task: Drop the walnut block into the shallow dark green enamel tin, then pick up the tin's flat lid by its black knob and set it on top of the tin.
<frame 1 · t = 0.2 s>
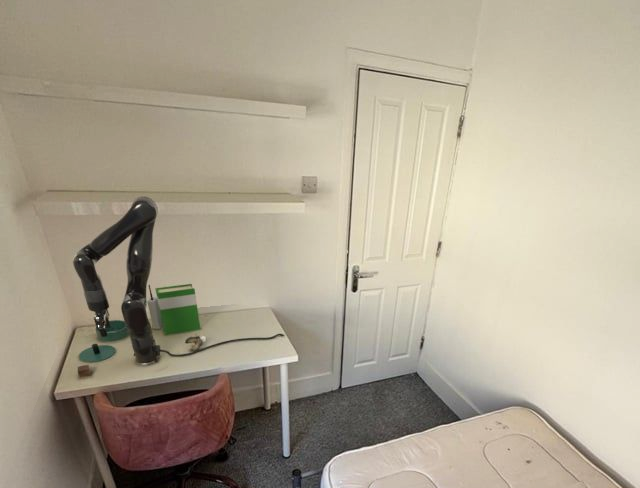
hand: (106, 331, 172), 17 cm above the table, tool pointing down, fingers open, 8 cm apart
eagle figurine: (196, 347, 199), on the table
block: (85, 375, 171), on the table
hardback book: (182, 329, 213), on the table
lid: (97, 354, 185), point 1 cm above the table
vintage mobile phone: (158, 327, 213), on the table
tin: (114, 335, 202), on the table
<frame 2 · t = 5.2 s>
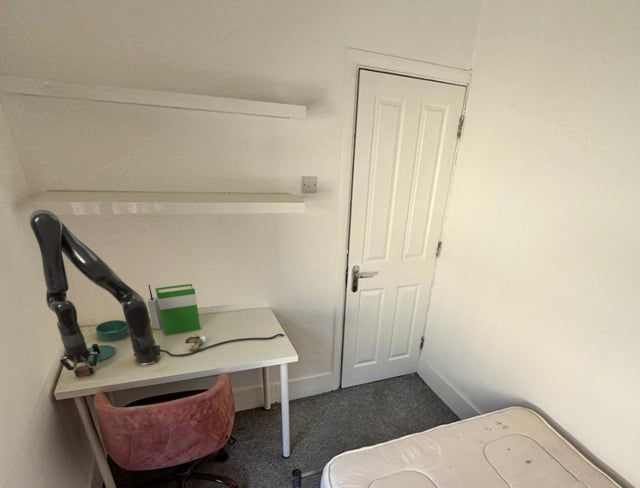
hand: (85, 374, 171), 0 cm above the table, tool pointing down, fingers closed on block, 4 cm apart
block: (85, 375, 171), on the table, touching gripper
everything else where it was.
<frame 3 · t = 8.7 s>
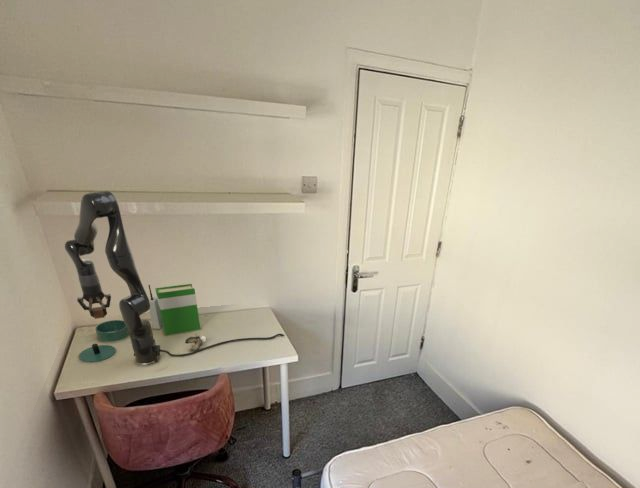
hand: (99, 315, 187), 16 cm above the table, tool pointing down, fingers closed on block, 4 cm apart
block: (99, 316, 187), point 15 cm above the table, touching gripper
everything else where it was.
when the fingers open (1 cm above the table, at t = 13.1 s): block stays where it is, resting on tin.
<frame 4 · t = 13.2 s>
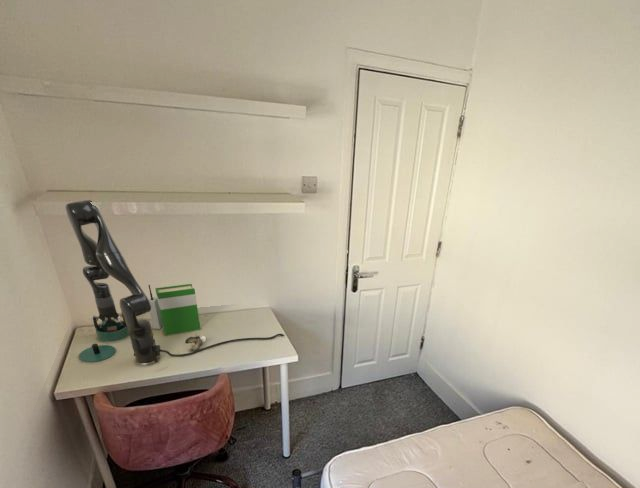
hand: (113, 332, 201), 2 cm above the table, tool pointing down, fingers open, 8 cm apart
block: (113, 334, 201), point 1 cm above the table, touching tin
everything else where it was.
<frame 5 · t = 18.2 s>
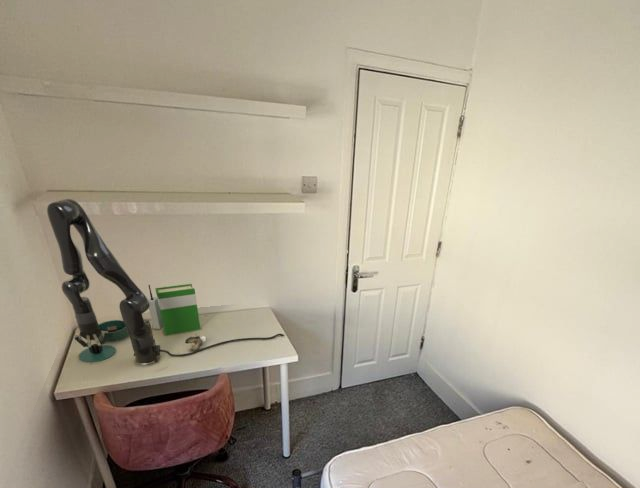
hand: (97, 352, 185), 2 cm above the table, tool pointing down, fingers closed on lid, 2 cm apart
lid: (97, 354, 185), point 1 cm above the table, touching gripper
everything else where it was.
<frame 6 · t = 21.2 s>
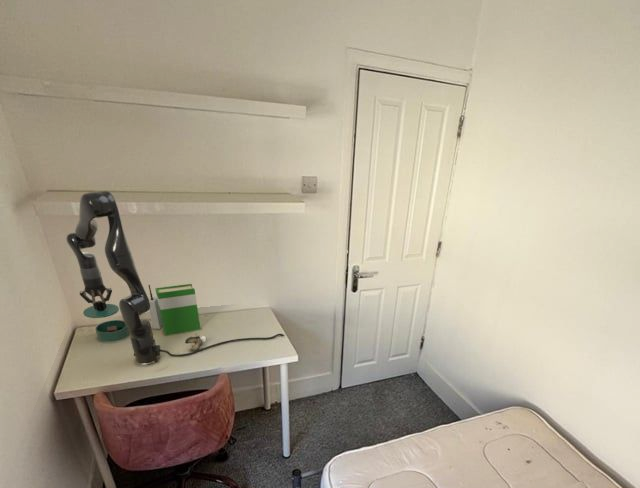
hand: (101, 309, 189), 17 cm above the table, tool pointing down, fingers closed on lid, 2 cm apart
lid: (101, 311, 189), point 16 cm above the table, touching gripper
everything else where it was.
when the fingers open (7 cm above the table, at t = 24.3 s): lid stays where it is, resting on tin.
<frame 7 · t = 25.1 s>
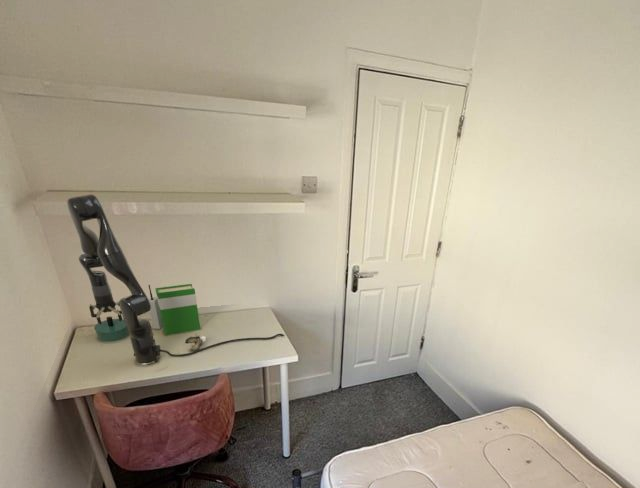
hand: (110, 322, 197), 8 cm above the table, tool pointing down, fingers open, 8 cm apart
lid: (111, 326, 199), point 5 cm above the table, touching tin
everything else where it was.
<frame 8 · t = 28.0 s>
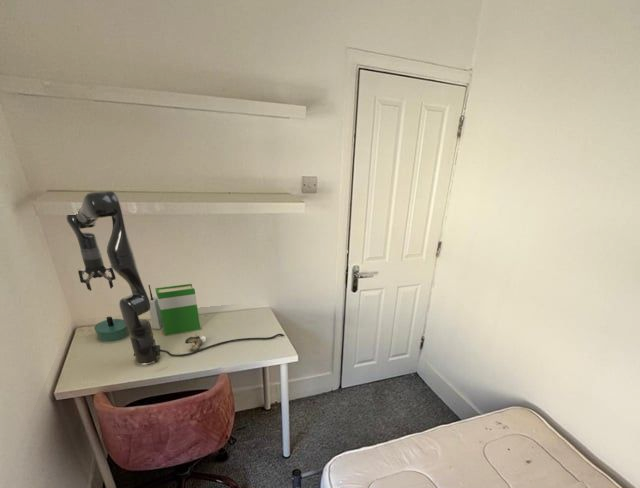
hand: (101, 288, 188), 26 cm above the table, tool pointing down, fingers open, 8 cm apart
nothing on the table moved.
at the end: block inside the target area in the tin (0.2 cm from its centre), point 0.5 cm above the tin's base; lid 0.1 cm off-centre on the tin, point 5.5 cm above the tin's base; lid tilted 0° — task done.
